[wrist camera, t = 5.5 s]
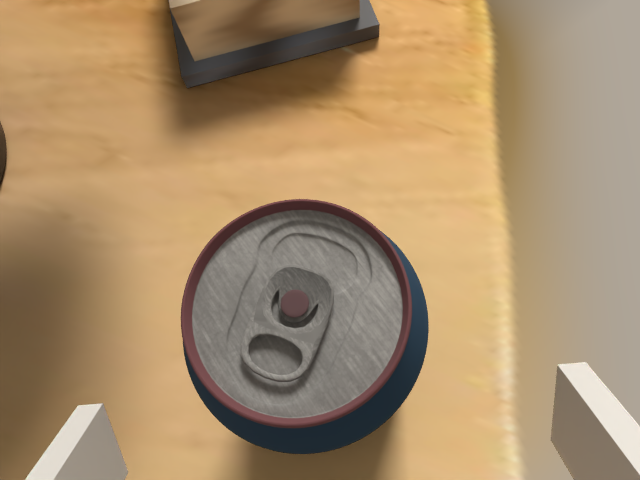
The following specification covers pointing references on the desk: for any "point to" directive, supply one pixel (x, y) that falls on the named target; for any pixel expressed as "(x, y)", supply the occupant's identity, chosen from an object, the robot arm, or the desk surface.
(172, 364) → the desk surface
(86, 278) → the desk surface
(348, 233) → the soda can
